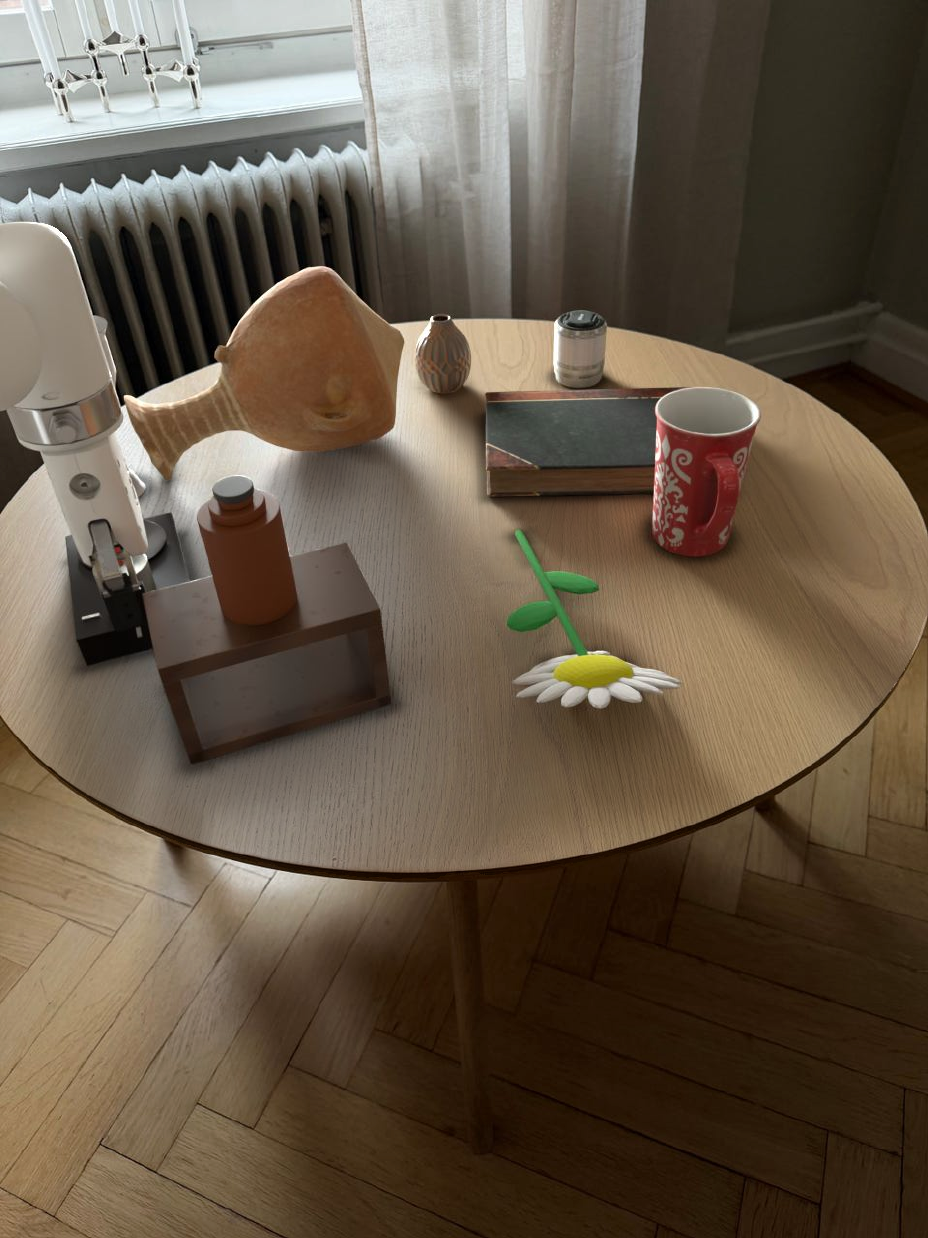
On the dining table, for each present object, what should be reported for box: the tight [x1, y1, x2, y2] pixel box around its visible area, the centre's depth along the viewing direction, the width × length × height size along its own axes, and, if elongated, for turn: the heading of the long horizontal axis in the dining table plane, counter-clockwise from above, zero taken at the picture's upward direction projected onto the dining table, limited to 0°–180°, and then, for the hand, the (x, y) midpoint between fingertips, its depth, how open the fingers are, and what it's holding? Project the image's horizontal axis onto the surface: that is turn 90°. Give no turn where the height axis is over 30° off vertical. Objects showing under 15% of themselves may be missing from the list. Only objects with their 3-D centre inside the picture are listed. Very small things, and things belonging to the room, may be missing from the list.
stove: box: [64, 511, 191, 667], centre depth 83 cm, size 10×18×3 cm, turn 21°
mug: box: [651, 386, 762, 558], centre depth 83 cm, size 13×9×14 cm
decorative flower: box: [505, 529, 684, 710], centre depth 78 cm, size 13×5×30 cm
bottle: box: [196, 475, 297, 626], centre depth 65 cm, size 6×6×10 cm
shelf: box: [142, 542, 393, 765], centre depth 71 cm, size 16×9×10 cm, turn 111°
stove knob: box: [92, 547, 157, 615], centre depth 77 cm, size 4×4×5 cm
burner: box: [78, 520, 167, 570], centre depth 86 cm, size 8×8×1 cm
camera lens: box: [553, 309, 608, 389], centre depth 112 cm, size 6×6×8 cm
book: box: [484, 386, 696, 498], centre depth 100 cm, size 17×4×25 cm
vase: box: [414, 313, 472, 394], centre depth 112 cm, size 7×7×9 cm
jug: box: [123, 265, 406, 481], centre depth 98 cm, size 20×19×30 cm
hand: (130, 594), depth 78 cm, fingers open, 7 cm apart
